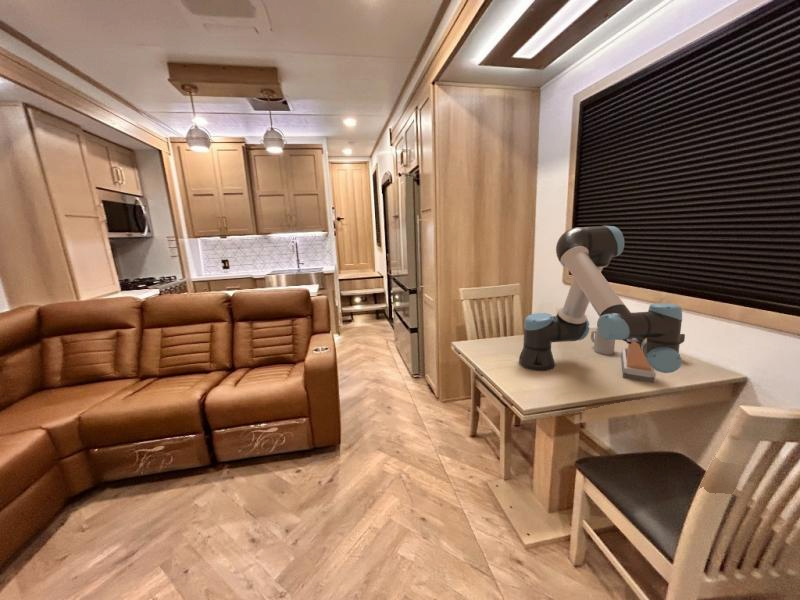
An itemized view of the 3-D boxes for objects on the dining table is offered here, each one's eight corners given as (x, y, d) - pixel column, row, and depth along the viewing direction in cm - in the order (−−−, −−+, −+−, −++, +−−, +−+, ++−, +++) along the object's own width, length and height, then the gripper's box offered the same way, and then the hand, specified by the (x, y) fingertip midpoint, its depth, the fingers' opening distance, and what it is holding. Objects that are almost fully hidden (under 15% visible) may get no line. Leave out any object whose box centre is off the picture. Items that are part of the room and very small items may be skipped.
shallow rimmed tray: (653, 382, 125) (655, 372, 124) (622, 377, 130) (624, 367, 129) (647, 359, 145) (648, 350, 144) (621, 356, 151) (621, 347, 150)
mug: (618, 353, 154) (620, 331, 152) (604, 355, 152) (606, 334, 150) (597, 345, 165) (598, 325, 163) (583, 347, 163) (585, 327, 161)
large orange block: (650, 375, 126) (655, 337, 123) (626, 371, 130) (630, 335, 127) (649, 369, 131) (653, 333, 128) (625, 365, 135) (629, 330, 132)
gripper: (608, 352, 110) (604, 336, 128) (705, 362, 97) (686, 342, 115) (609, 331, 108) (605, 318, 126) (708, 338, 96) (688, 322, 114)
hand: (644, 329), depth 121 cm, fingers open, 13 cm apart
